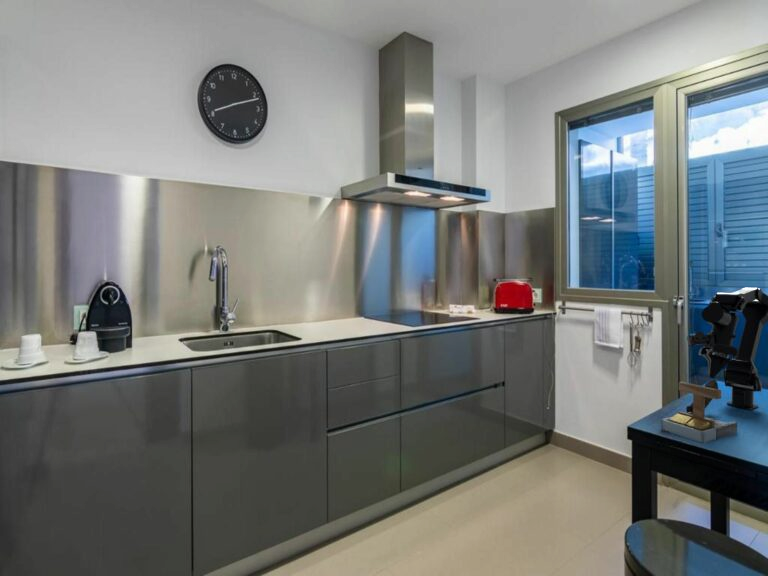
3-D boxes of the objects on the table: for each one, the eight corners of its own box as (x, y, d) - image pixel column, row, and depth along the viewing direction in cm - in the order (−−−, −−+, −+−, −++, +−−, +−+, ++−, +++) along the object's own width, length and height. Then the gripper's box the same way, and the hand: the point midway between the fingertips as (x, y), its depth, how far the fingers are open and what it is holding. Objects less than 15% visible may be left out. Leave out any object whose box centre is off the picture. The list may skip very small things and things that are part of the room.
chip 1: (678, 422, 124) (677, 413, 123) (693, 426, 120) (692, 417, 120) (671, 428, 122) (669, 419, 122) (685, 433, 119) (684, 423, 118)
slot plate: (694, 420, 130) (694, 410, 129) (737, 432, 119) (737, 422, 119) (674, 425, 125) (674, 415, 125) (717, 439, 115) (717, 428, 115)
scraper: (682, 417, 126) (682, 381, 125) (720, 428, 117) (721, 390, 116) (675, 419, 124) (676, 382, 124) (714, 430, 115) (714, 391, 115)
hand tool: (701, 419, 128) (699, 406, 127) (686, 416, 131) (684, 403, 130) (728, 391, 137) (725, 378, 136) (713, 388, 140) (711, 376, 139)
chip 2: (695, 427, 120) (693, 418, 119) (711, 432, 116) (709, 422, 116) (687, 433, 118) (685, 424, 118) (703, 438, 115) (701, 429, 114)
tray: (673, 426, 125) (674, 416, 125) (716, 439, 115) (716, 428, 115) (661, 429, 122) (661, 419, 122) (703, 443, 112) (703, 432, 112)
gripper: (686, 327, 145) (675, 370, 144) (699, 320, 129) (687, 368, 127) (726, 336, 140) (714, 381, 139) (745, 330, 123) (732, 381, 122)
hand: (711, 377), depth 132 cm, fingers closed
